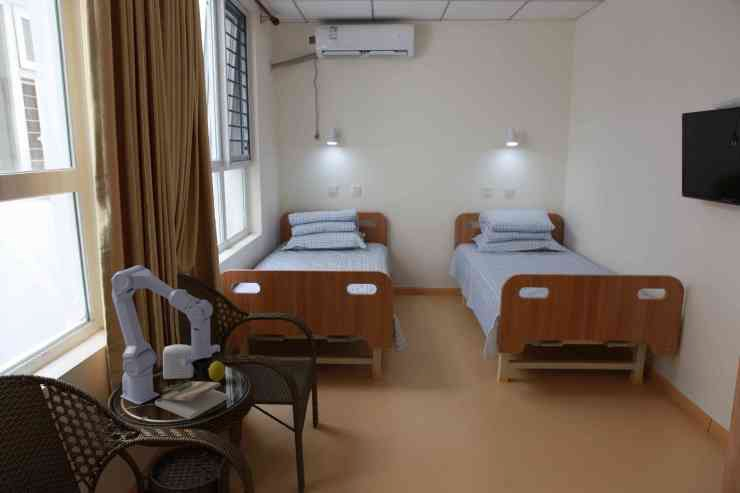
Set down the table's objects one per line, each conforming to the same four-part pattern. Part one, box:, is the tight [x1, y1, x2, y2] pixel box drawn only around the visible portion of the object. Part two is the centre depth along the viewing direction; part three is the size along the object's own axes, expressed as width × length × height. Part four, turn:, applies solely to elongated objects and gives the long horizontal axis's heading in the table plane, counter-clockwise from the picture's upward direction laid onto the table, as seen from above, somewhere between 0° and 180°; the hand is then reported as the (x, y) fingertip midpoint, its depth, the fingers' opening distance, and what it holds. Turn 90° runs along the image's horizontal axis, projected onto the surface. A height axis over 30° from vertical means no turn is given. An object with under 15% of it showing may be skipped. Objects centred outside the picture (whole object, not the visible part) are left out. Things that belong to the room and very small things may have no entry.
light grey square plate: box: [154, 389, 229, 420], centre depth 166 cm, size 16×16×2 cm
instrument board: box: [160, 380, 221, 401], centre depth 166 cm, size 14×13×3 cm
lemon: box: [208, 360, 226, 382], centre depth 180 cm, size 6×6×8 cm
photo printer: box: [162, 343, 194, 380], centre depth 182 cm, size 10×4×12 cm, turn 103°
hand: (201, 378), depth 162 cm, fingers closed
